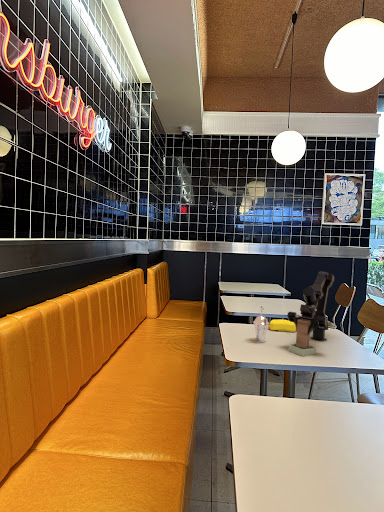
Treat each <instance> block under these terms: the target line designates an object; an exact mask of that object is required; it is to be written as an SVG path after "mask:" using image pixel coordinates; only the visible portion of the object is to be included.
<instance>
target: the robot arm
mask: <svg viewBox="0 0 384 512" xmlns="http://www.w3.org/2000/svg"><path fill="white" fill-rule="evenodd" d="M334 282H335V276H334V275H333V274H332V273H329V272H327V271H318V272H317V277H316V279H315V280H314V283H313V284H312V285H308V287H305V288H304V289H303V290H302V295H303V299H304V302H305V304H300V308H299V311H300V314H297V312H295V311H288V312H287V318H288V320H289V321H290V322H294V324H295V325H296V331H295V332H297V322H298V320H299V319H306V320H311V325H310V327H309V330H308V335H309V334H310V335H311V334H312V336H310V338H311V339H312V340H316V341H319V342H321V341H326V340H327V339H328V338H326V337H325V336H326V335H325V333H326V332H325V331H328V330H329V322H328V320H327V316H326V313H325V311H326V308H327V307H326V306H327V300H328V295H329V290H330V289H331V287H332V286H333V283H334Z"/></svg>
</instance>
